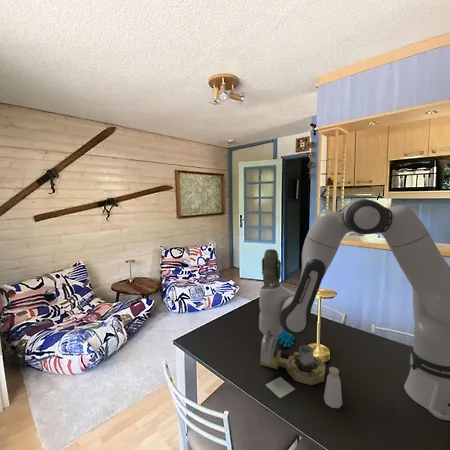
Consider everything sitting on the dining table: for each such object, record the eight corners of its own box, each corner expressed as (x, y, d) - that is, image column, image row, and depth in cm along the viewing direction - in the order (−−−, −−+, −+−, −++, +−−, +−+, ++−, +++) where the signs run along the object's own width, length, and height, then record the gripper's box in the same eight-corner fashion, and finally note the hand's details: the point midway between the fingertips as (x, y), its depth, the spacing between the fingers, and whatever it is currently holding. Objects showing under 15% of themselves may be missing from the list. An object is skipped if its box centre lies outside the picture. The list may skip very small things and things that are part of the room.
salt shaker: (331, 410, 77) (332, 377, 76) (320, 397, 82) (320, 365, 81) (346, 406, 79) (347, 373, 77) (334, 393, 84) (335, 362, 82)
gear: (283, 348, 106) (272, 325, 111) (274, 353, 109) (265, 330, 115) (300, 343, 112) (289, 321, 117) (292, 348, 115) (282, 326, 121)
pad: (280, 377, 92) (280, 376, 92) (295, 389, 86) (295, 388, 86) (265, 385, 88) (265, 384, 88) (280, 398, 82) (280, 398, 82)
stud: (316, 369, 95) (317, 344, 94) (314, 381, 89) (314, 355, 88) (298, 364, 98) (298, 340, 97) (294, 375, 92) (294, 350, 91)
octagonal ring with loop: (325, 365, 97) (326, 355, 96) (323, 389, 85) (323, 377, 85) (267, 351, 106) (267, 341, 106) (257, 370, 95) (257, 360, 94)
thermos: (266, 306, 150) (266, 247, 146) (284, 311, 142) (284, 250, 138) (257, 311, 143) (257, 250, 139) (276, 317, 136) (276, 253, 131)
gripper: (274, 341, 86) (274, 379, 88) (282, 314, 105) (282, 345, 107) (256, 338, 88) (256, 374, 90) (267, 312, 107) (267, 342, 109)
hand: (270, 358), depth 98 cm, fingers closed
